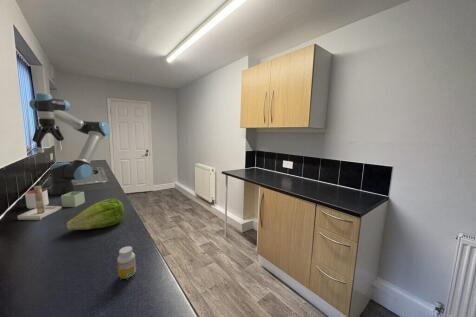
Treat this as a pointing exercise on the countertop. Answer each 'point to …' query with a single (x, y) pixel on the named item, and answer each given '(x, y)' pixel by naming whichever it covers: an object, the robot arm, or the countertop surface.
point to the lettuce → (98, 215)
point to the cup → (32, 201)
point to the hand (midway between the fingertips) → (50, 151)
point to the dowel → (39, 199)
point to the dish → (35, 216)
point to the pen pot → (72, 199)
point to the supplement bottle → (126, 262)
